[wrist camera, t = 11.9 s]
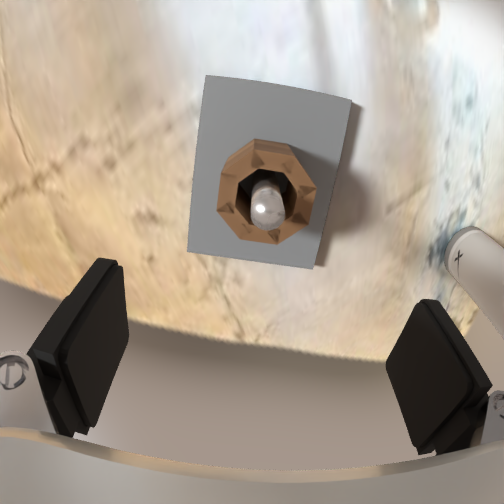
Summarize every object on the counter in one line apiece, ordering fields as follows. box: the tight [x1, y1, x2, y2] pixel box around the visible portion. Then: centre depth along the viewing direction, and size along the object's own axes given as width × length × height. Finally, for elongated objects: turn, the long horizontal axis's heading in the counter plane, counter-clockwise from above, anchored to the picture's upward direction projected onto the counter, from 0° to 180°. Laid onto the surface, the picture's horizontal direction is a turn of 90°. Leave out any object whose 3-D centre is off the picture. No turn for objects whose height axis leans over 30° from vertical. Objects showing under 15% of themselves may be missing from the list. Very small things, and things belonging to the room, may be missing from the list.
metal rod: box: [251, 168, 285, 230], centre depth 23 cm, size 2×2×9 cm
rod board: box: [187, 75, 352, 269], centre depth 28 cm, size 16×12×2 cm
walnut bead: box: [216, 138, 317, 245], centre depth 24 cm, size 6×6×6 cm
